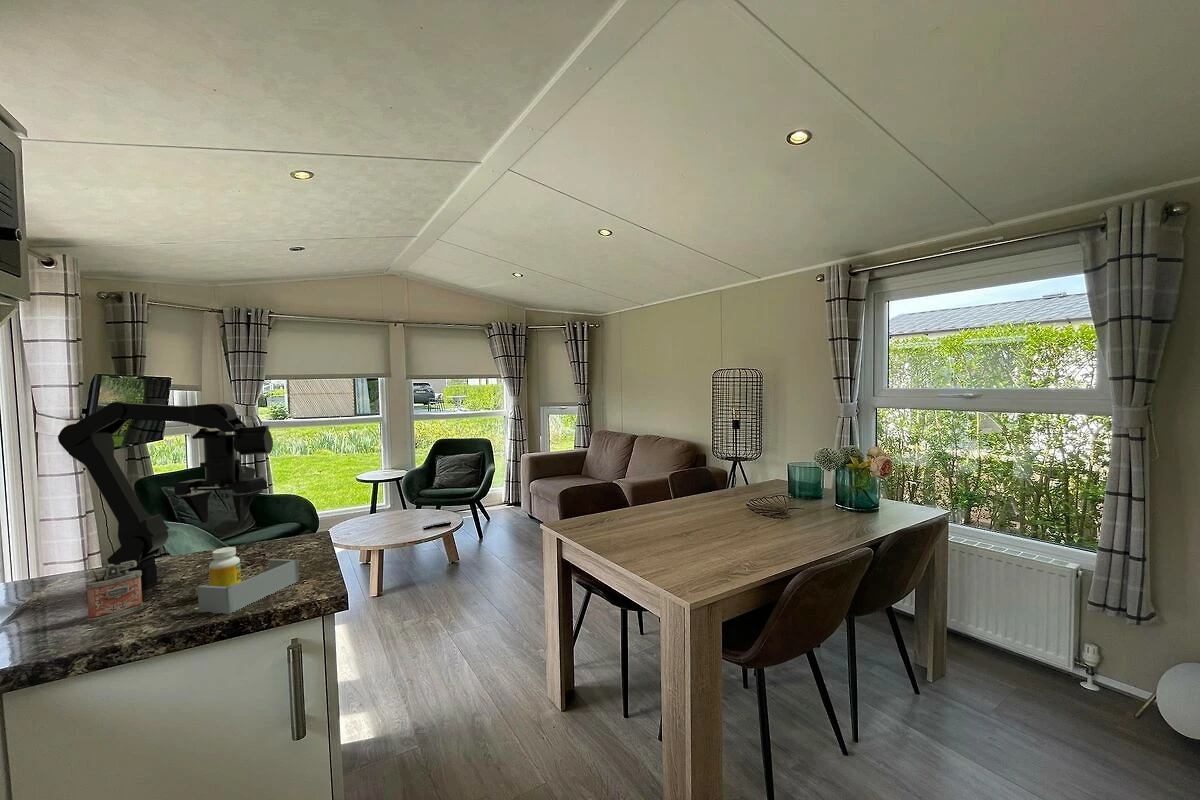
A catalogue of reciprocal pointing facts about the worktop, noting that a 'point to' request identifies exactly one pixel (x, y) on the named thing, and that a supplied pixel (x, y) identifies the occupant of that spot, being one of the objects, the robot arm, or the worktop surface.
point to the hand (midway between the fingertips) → (223, 522)
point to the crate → (248, 588)
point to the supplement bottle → (225, 568)
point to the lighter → (114, 592)
